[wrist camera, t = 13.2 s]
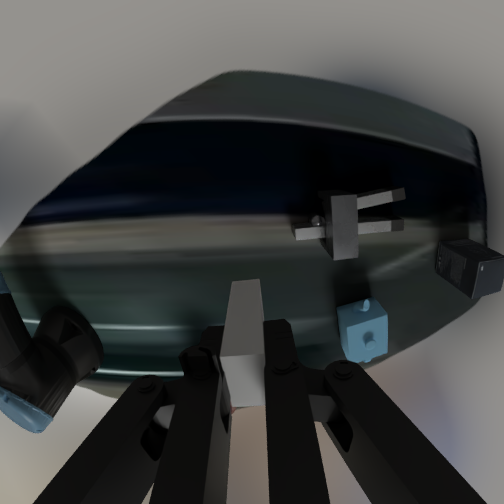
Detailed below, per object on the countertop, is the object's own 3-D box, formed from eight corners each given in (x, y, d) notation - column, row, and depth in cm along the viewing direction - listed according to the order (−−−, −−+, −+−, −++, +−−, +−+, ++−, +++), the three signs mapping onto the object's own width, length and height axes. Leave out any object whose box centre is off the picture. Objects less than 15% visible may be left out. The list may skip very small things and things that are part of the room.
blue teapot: (331, 284, 38) (346, 309, 31) (369, 274, 38) (390, 296, 31) (340, 347, 42) (352, 376, 35) (373, 337, 41) (389, 364, 34)
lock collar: (320, 244, 36) (333, 260, 30) (317, 190, 34) (331, 196, 28) (341, 241, 36) (358, 257, 30) (339, 189, 34) (356, 194, 28)
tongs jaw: (324, 212, 35) (330, 216, 32) (321, 201, 35) (327, 204, 32) (395, 196, 34) (405, 198, 31) (393, 185, 34) (403, 187, 31)
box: (434, 273, 38) (471, 300, 28) (438, 240, 36) (479, 261, 26) (465, 268, 37) (501, 292, 27) (469, 238, 36) (509, 256, 26)
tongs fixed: (292, 234, 36) (296, 240, 33) (291, 214, 35) (294, 218, 32) (393, 225, 35) (403, 230, 32) (393, 206, 35) (403, 210, 32)
